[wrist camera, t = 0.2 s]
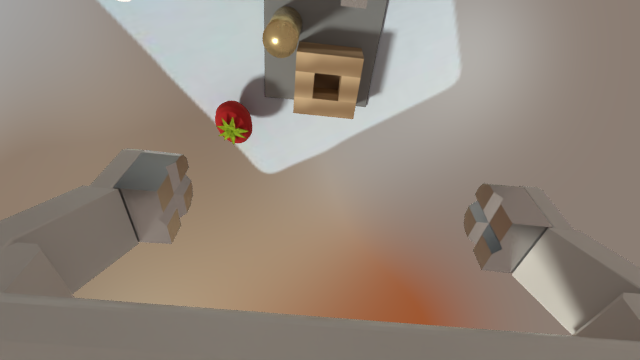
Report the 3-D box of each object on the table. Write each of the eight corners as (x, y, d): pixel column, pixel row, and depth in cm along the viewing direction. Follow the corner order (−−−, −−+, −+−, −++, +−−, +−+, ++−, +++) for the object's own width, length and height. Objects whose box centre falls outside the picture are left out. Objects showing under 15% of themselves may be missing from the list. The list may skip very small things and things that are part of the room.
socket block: (299, 41, 52) (296, 51, 48) (361, 48, 52) (364, 58, 48) (295, 99, 58) (293, 112, 54) (351, 105, 59) (353, 118, 55)
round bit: (272, 4, 49) (262, 19, 42) (303, 8, 49) (298, 23, 42) (272, 37, 52) (262, 56, 45) (301, 40, 52) (296, 59, 45)
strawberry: (248, 85, 57) (235, 112, 49) (263, 122, 62) (253, 152, 54) (217, 92, 58) (199, 120, 50) (234, 128, 63) (220, 159, 55)
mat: (264, -56, 44) (263, -56, 44) (394, -40, 45) (395, -40, 45) (265, 95, 58) (264, 96, 58) (365, 105, 59) (365, 106, 59)
